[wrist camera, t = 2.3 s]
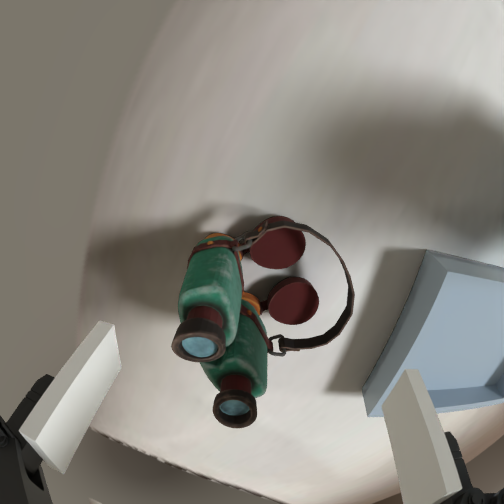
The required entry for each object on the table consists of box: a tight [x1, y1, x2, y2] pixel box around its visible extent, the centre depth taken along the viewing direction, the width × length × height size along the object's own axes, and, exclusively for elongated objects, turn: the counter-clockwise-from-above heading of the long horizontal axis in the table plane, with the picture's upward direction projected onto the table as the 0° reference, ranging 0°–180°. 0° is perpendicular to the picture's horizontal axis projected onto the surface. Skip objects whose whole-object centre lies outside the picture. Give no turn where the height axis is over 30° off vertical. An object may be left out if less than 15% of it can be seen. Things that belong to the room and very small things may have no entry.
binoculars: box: [171, 216, 355, 428], centre depth 16 cm, size 9×11×10 cm
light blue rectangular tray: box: [362, 250, 504, 417], centre depth 20 cm, size 15×20×4 cm
